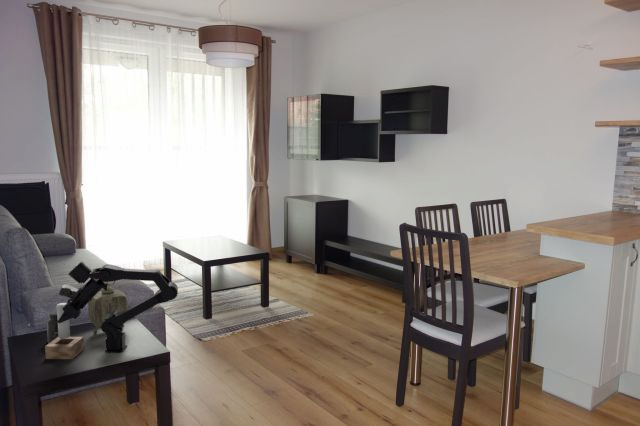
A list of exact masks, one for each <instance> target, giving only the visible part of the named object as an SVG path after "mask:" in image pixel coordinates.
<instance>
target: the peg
mask: <svg viewBox="0 0 640 426" xmlns="http://www.w3.org/2000/svg"><path fill="white" fill-rule="evenodd" d="M67 303H68V302H62V303H57V304H56V311H57V319H58V320H59V318H60V317H61V315H62V314H63V313H64V311H63V309H62V308H63V307H64V305H66V304H67ZM58 335H59V338H60V339H65V338H68V337H71V328H70V319H69V320H67V321H64V322H62V323H58Z"/></svg>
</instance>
